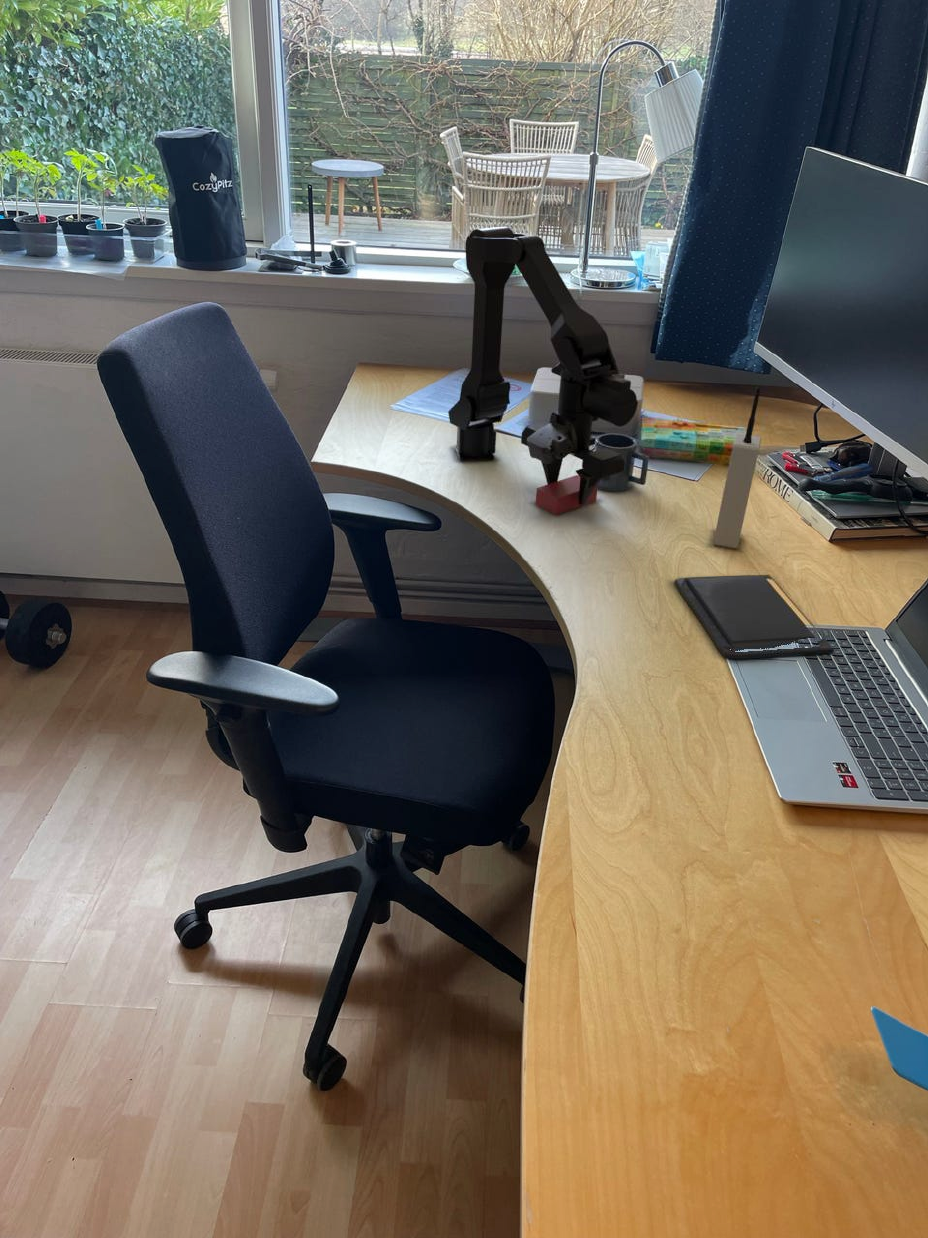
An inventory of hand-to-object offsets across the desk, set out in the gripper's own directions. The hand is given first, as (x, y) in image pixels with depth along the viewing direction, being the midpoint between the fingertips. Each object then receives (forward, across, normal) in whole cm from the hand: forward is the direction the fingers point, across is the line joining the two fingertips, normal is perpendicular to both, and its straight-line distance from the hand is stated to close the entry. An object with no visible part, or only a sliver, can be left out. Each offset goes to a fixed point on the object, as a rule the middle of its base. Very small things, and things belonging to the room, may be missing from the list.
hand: (566, 496), depth 155 cm
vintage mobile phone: (+1, +25, +11) cm, 27 cm away
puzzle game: (+1, -2, +36) cm, 36 cm away
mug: (+1, 0, +13) cm, 13 cm away
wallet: (+1, +41, -5) cm, 41 cm away
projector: (+1, -27, +32) cm, 41 cm away
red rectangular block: (+1, 0, 0) cm, 1 cm away
